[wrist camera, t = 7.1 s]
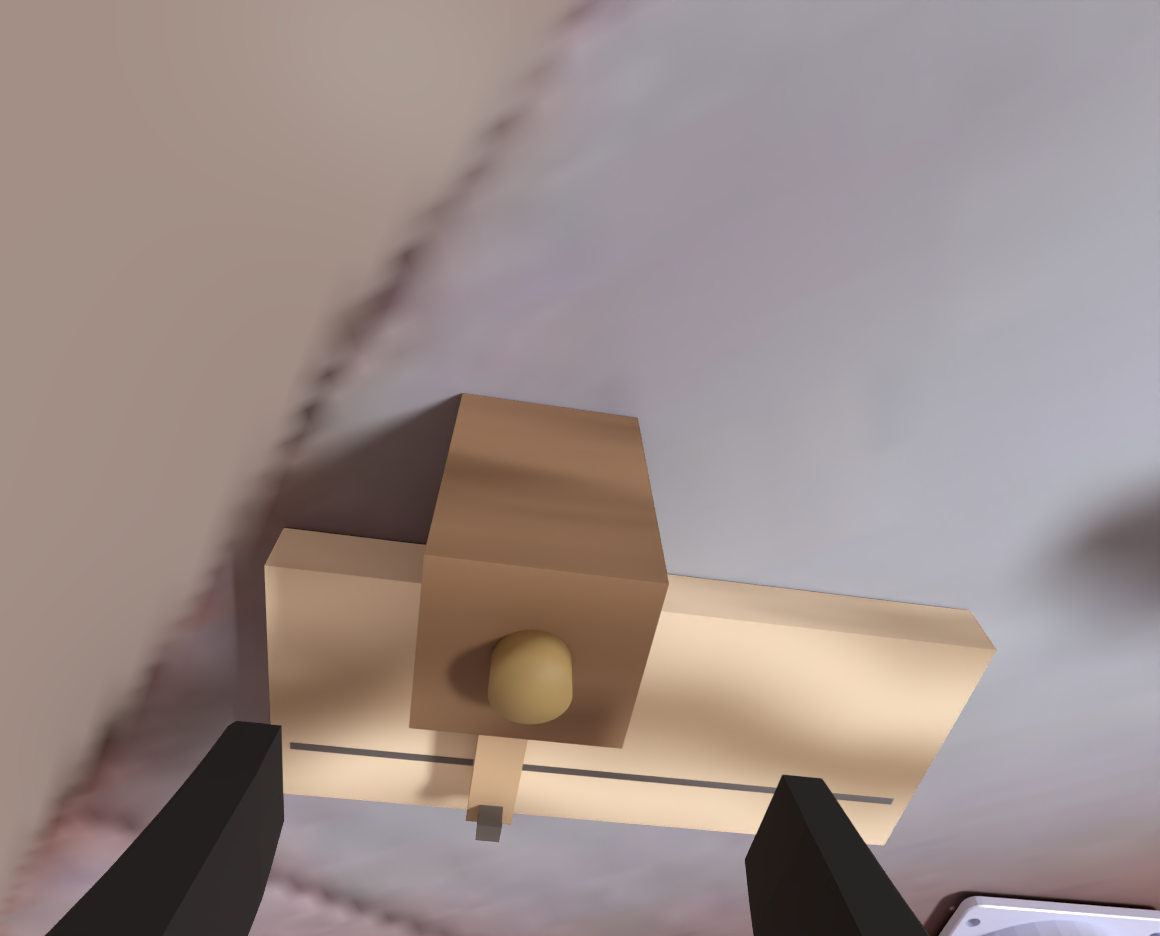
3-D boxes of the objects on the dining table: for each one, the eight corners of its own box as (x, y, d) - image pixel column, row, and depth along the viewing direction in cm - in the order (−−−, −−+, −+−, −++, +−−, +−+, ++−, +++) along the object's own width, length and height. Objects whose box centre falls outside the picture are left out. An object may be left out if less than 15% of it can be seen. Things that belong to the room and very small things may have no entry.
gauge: (562, 744, 24) (564, 989, 18) (427, 731, 23) (383, 977, 18) (637, 417, 18) (675, 616, 12) (462, 393, 18) (416, 586, 12)
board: (867, 802, 25) (884, 846, 24) (288, 748, 24) (272, 793, 22) (970, 610, 22) (997, 650, 20) (284, 527, 20) (263, 565, 18)
